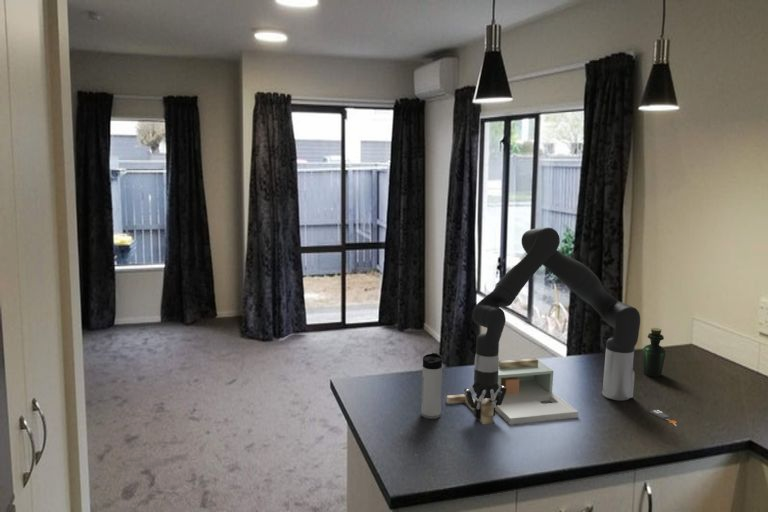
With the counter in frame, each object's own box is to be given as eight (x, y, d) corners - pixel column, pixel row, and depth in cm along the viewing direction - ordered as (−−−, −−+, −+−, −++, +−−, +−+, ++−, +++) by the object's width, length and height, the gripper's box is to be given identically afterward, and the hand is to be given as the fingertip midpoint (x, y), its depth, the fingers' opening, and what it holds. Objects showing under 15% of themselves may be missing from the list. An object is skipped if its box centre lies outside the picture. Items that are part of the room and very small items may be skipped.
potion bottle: (642, 376, 235) (646, 331, 231) (639, 369, 242) (643, 325, 239) (665, 378, 232) (669, 333, 229) (662, 371, 240) (666, 327, 237)
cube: (512, 387, 217) (513, 374, 216) (518, 392, 212) (519, 379, 211) (499, 388, 215) (500, 375, 215) (505, 394, 211) (506, 380, 210)
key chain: (648, 414, 202) (648, 410, 202) (657, 412, 203) (657, 408, 203) (679, 431, 190) (680, 426, 190) (688, 429, 191) (689, 424, 191)
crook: (470, 399, 211) (471, 383, 210) (493, 423, 193) (493, 405, 192) (446, 401, 209) (447, 385, 208) (467, 425, 190) (467, 407, 189)
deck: (535, 384, 225) (536, 358, 224) (578, 417, 198) (580, 388, 196) (474, 389, 219) (475, 362, 218) (509, 424, 192) (511, 394, 190)
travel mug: (442, 412, 200) (444, 353, 197) (438, 420, 194) (439, 360, 190) (424, 409, 202) (426, 351, 199) (419, 417, 196) (420, 358, 192)
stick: (535, 364, 217) (535, 358, 217) (537, 365, 216) (538, 360, 215) (498, 366, 214) (499, 360, 214) (501, 368, 212) (501, 362, 212)
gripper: (502, 361, 197) (499, 411, 200) (460, 364, 194) (459, 415, 197) (512, 369, 190) (509, 421, 193) (469, 372, 187) (467, 425, 190)
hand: (484, 417), depth 195 cm, fingers open, 4 cm apart
